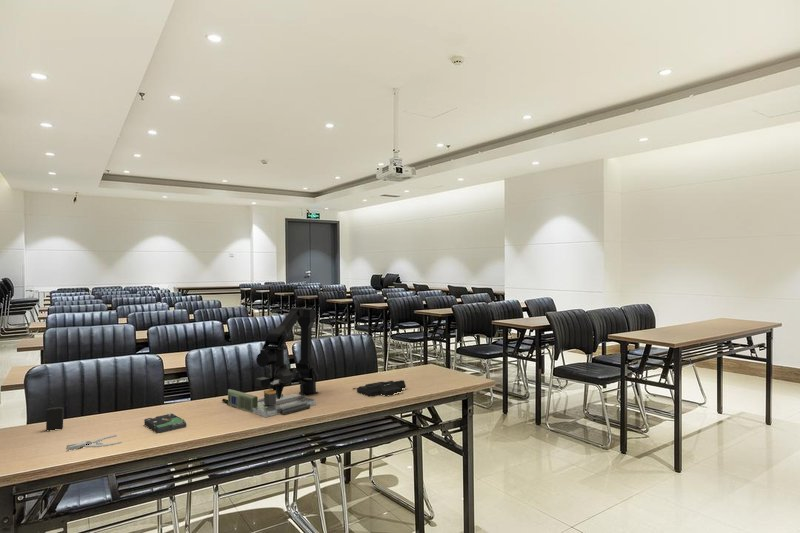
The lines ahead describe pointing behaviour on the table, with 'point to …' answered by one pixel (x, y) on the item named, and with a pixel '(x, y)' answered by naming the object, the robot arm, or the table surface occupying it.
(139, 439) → the table surface
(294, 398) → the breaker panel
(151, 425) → the disk drive
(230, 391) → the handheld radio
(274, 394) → the lever
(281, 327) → the robot arm
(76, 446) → the pliers
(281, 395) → the grey rounded rod
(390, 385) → the electronic device
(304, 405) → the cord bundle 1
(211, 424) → the table surface
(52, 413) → the ink cartridge
